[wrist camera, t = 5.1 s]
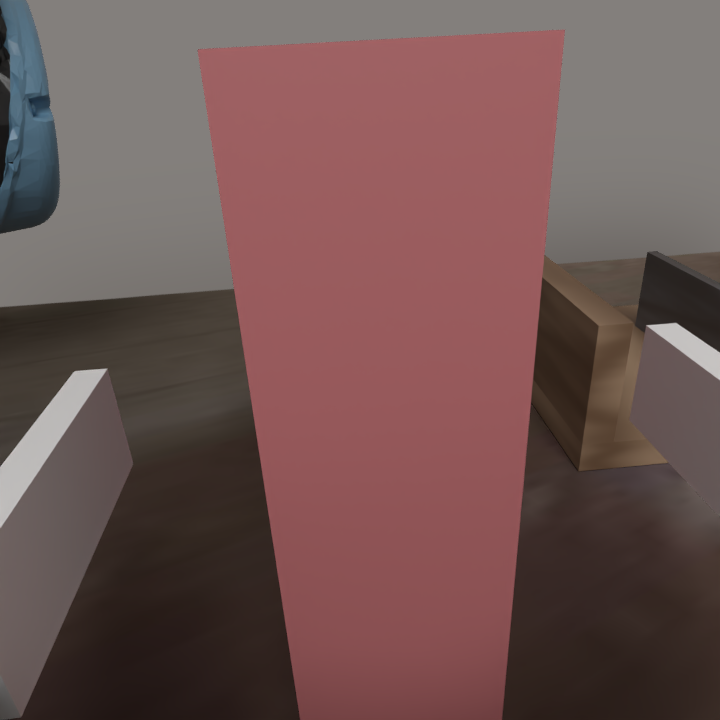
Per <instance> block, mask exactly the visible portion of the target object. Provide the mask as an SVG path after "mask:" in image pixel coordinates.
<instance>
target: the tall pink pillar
mask: <svg viewBox="0 0 720 720" xmlns="http://www.w3.org/2000/svg"><path fill="white" fill-rule="evenodd" d="M564 33H565V30H549V31H530V32H512V33H494V34H475V35H457V36H439V37H438V36H437V37H418V38H400V39H381V40H364V41H363V40H362V41H346V42H345V41H344V42H326V43H306V44H288V45H270V46H250V47H232V48H215V49H214V48H213V49H198V55H199V62H200V69H201V75H202V82H203V87H204V95H205V101H206V108H207V114H208V121H209V127H210V133H211V140H212V147H213V153H214V160H215V167H216V173H217V179H218V186H219V193H220V199H221V206H222V212H223V219H224V225H225V232H226V238H227V245H228V251H229V258H230V265H231V271H232V278H233V284H234V291H235V297H236V304H237V310H238V317H239V323H240V330H241V336H242V343H243V349H244V356H245V363H246V369H247V376H248V382H249V389H250V395H251V402H252V408H253V415H254V421H255V428H256V434H257V441H258V447H259V454H260V461H261V467H262V474H263V480H264V487H265V493H266V500H267V506H268V513H269V519H270V526H271V532H272V539H273V545H274V552H275V559H276V565H277V572H278V578H279V585H280V591H281V598H282V604H283V611H284V617H285V624H286V630H287V637H288V643H289V650H290V657H291V663H292V670H293V676H294V683H295V689H296V696H297V702H298V709H299V715H300V720H502V714H503V703H504V692H505V681H506V670H507V659H508V648H509V637H510V626H511V615H512V604H513V593H514V582H515V571H516V560H517V549H518V538H519V527H520V516H521V505H522V494H523V483H524V472H525V461H526V450H527V439H528V428H529V417H530V406H531V395H532V384H533V373H534V362H535V351H536V340H537V330H538V319H539V308H540V297H541V286H542V275H543V264H544V252H545V242H546V231H547V220H548V209H549V198H550V187H551V176H552V165H553V153H554V142H555V132H556V120H557V110H558V99H559V87H560V76H561V66H562V54H563V44H564Z"/></svg>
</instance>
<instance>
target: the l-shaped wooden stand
mask: <svg viewBox="0 0 720 720" xmlns="http://www.w3.org/2000/svg"><path fill="white" fill-rule="evenodd" d="M670 323H677V324H678V325H680V326H681V327H683V328H684V329H686V330H687V331H689V332H690V333H692V334H693V335H695V336H696V337H698V338H699V339H700V340H702V341H703V342H705V343H706V344H708V345H709V346H711V347H712V348H714V349H715V350H717V351H718V352H720V283H718V282H716V281H714V280H712V279H710V278H708V277H707V276H705V275H703V274H701V273H699V272H697V271H695V270H693V269H691V268H689V267H687V266H685V265H683V264H681V263H679V262H677V261H675V260H673V259H671V258H669V257H667V256H665V255H663V254H661V253H659V252H657V251H654V252H648V253H647V258H646V264H645V270H644V276H643V282H642V288H641V293H640V299H639V305H628V306H615V307H612V306H611V305H609V304H608V303H607V302H605V301H604V300H603V299H601V298H600V297H599V296H598V295H596V294H595V293H594V292H592V291H591V290H590V289H588V288H587V287H586V286H584V285H583V284H582V283H580V282H579V281H578V280H577V279H575V278H574V277H573V276H571V275H570V274H569V273H567V272H566V271H565V270H563V269H562V268H561V267H559V266H558V265H557V264H556V263H554V262H553V261H551V260H550V259H549V258H548V257H546V256H545V255H544V264H543V275H542V286H541V297H540V308H539V319H538V330H537V340H536V351H535V362H534V373H533V384H532V395H531V403H532V404H533V406H534V407H535V409H536V410H537V412H538V413H539V414H540V416H541V417H542V419H543V420H544V422H545V423H546V425H547V426H548V428H549V429H550V431H551V432H552V433H553V435H554V436H555V438H556V439H557V441H558V442H559V444H560V445H561V447H562V448H563V449H564V451H565V452H566V454H567V455H568V457H569V458H570V460H571V461H572V463H573V464H574V465H575V467H576V468H577V470H578V471H587V470H598V469H609V468H619V467H630V466H640V465H651V464H661V463H669V462H668V461H667V460H666V459H665V458H664V457H663V456H662V455H661V454H660V453H659V451H658V450H657V449H656V448H655V447H654V446H653V445H652V444H651V443H650V442H649V441H648V440H647V439H646V437H645V436H644V435H643V434H642V433H641V432H640V431H639V430H638V429H637V428H636V427H635V426H634V425H633V423H632V422H631V421H630V420H629V418H630V413H631V407H632V402H633V396H634V391H635V385H636V380H637V374H638V369H639V363H640V358H641V352H642V346H643V341H644V335H645V330H646V325H658V324H670Z"/></svg>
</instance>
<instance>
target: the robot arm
mask: <svg viewBox="0 0 720 720" xmlns="http://www.w3.org/2000/svg"><path fill="white" fill-rule="evenodd" d="M49 106H50V98H49V90H48V80H47V74H46V68H45V64H44V59H43V54H42V50H41V45H40V41H39V38H38V34H37V30H36V26H35V23H34V20H33V17H32V14H31V12H30V9H29V6H28V3H27V1H26V0H0V234H1V233H6V232H11V231H16V230H21V229H26V228H31V227H35V226H37V225H40V224H42V223H44V222H45V221H46V220H48V219H49V218H50V216H51V215H52V214H53V212H54V210H55V209H56V206H57V203H58V198H59V187H60V178H59V177H60V175H59V158H58V148H57V138H56V131H55V124H54V119H53V115H52V112H51V110H50V108H49ZM629 420H630V421H631V422H632V423H633V425H634V426H635V427H636V428H637V429H638V430H639V431H640V432H641V433H642V434H643V435H644V436H645V437H646V439H647V440H648V441H649V442H650V443H651V444H652V445H653V446H654V447H655V448H656V449H657V450H658V451H659V453H660V454H661V455H662V456H663V457H664V458H665V459H666V460H667V461H668V462H669V463H670V464H671V466H672V467H673V468H674V469H675V470H676V471H677V472H678V473H679V474H680V475H681V476H682V477H683V478H684V480H685V481H686V482H687V483H688V484H689V485H690V486H691V487H692V488H693V489H694V490H695V491H696V493H697V494H698V495H699V496H700V497H701V498H702V499H703V500H704V501H705V502H706V503H707V504H708V505H709V507H710V508H711V509H712V510H713V511H714V512H715V513H716V514H717V515H718V516H719V517H720V352H718V351H717V350H715V349H714V348H712V347H711V346H709V345H708V344H706V343H705V342H703V341H702V340H700V339H699V338H698V337H696V336H695V335H693V334H692V333H690V332H689V331H687V330H686V329H684V328H683V327H681V326H680V325H678V324H677V323H670V324H658V325H646V330H645V335H644V341H643V346H642V352H641V358H640V363H639V369H638V374H637V380H636V385H635V391H634V396H633V402H632V407H631V413H630V418H629ZM132 466H133V461H132V457H131V453H130V449H129V446H128V442H127V438H126V435H125V431H124V427H123V424H122V420H121V416H120V413H119V409H118V405H117V402H116V398H115V394H114V390H113V387H112V383H111V379H110V376H109V372H108V369H96V370H84V371H74V373H73V374H72V375H71V376H70V378H69V379H68V380H67V382H66V383H65V384H64V385H63V387H62V388H61V389H60V391H59V392H58V393H57V394H56V396H55V397H54V398H53V400H52V401H51V402H50V404H49V405H48V406H47V407H46V409H45V410H44V411H43V413H42V414H41V415H40V416H39V418H38V419H37V420H36V422H35V423H34V424H33V425H32V427H31V428H30V429H29V431H28V432H27V433H26V434H25V436H24V437H23V438H22V440H21V441H20V442H19V444H18V445H17V446H16V447H15V449H14V450H13V451H12V453H11V454H10V455H9V456H8V458H7V459H6V460H5V462H4V463H3V464H2V465H1V467H0V720H3V719H12V718H21V717H22V714H23V712H24V710H25V708H26V705H27V703H28V701H29V699H30V696H31V694H32V692H33V690H34V687H35V685H36V683H37V681H38V678H39V676H40V674H41V671H42V669H43V667H44V665H45V662H46V660H47V658H48V656H49V653H50V651H51V649H52V647H53V644H54V642H55V640H56V638H57V635H58V633H59V631H60V629H61V626H62V624H63V622H64V619H65V617H66V615H67V613H68V610H69V608H70V606H71V604H72V601H73V599H74V597H75V595H76V592H77V590H78V588H79V586H80V583H81V581H82V579H83V577H84V574H85V572H86V570H87V567H88V565H89V563H90V561H91V558H92V556H93V554H94V552H95V549H96V547H97V545H98V543H99V540H100V538H101V536H102V534H103V531H104V529H105V527H106V525H107V522H108V520H109V518H110V515H111V513H112V511H113V509H114V506H115V504H116V502H117V500H118V497H119V495H120V493H121V491H122V488H123V486H124V484H125V482H126V479H127V477H128V475H129V473H130V470H131V468H132Z"/></svg>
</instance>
